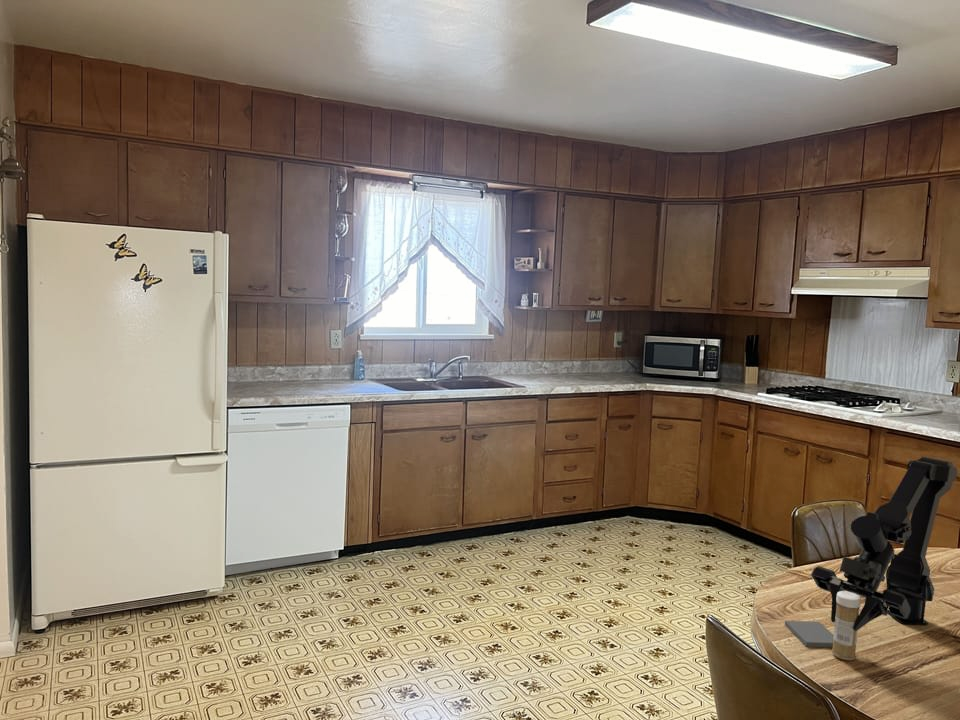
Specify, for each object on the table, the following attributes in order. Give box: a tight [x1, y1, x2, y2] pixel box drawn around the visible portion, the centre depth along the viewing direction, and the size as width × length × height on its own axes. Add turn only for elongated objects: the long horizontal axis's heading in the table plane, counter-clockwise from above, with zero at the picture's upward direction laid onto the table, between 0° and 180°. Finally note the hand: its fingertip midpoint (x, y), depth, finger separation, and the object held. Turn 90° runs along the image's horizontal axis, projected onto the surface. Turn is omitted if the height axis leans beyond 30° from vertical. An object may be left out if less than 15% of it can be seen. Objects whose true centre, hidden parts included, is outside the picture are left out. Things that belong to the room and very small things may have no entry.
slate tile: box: [784, 620, 834, 648], centre depth 160 cm, size 8×10×1 cm
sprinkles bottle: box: [831, 591, 862, 661], centre depth 151 cm, size 5×5×14 cm
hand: (843, 625), depth 150 cm, fingers closed on sprinkles bottle, 4 cm apart
